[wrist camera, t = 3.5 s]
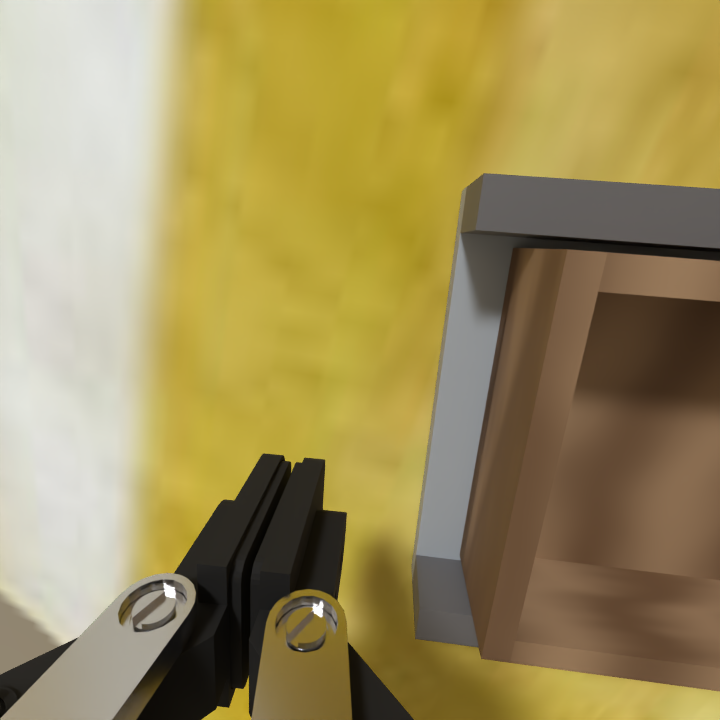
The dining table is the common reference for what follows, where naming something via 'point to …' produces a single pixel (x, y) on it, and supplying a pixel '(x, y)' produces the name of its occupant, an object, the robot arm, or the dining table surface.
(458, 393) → the bay
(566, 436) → the box
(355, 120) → the dining table surface
